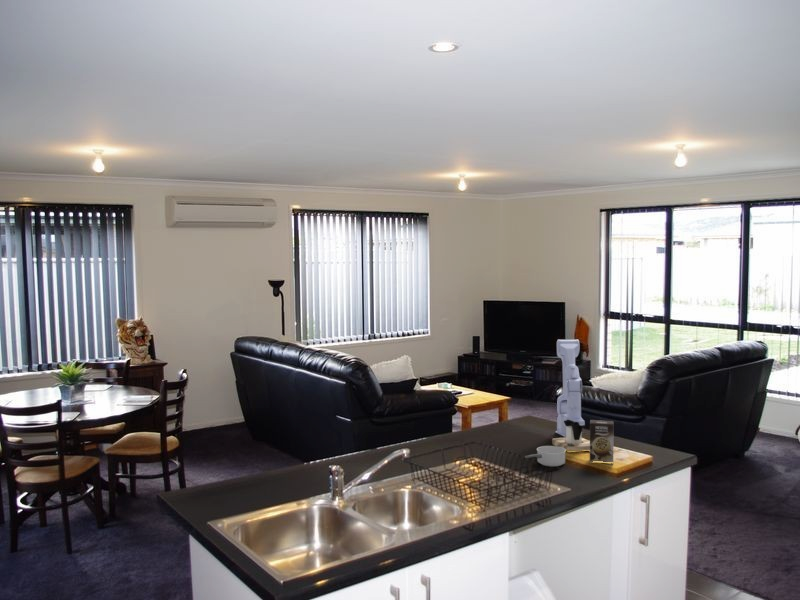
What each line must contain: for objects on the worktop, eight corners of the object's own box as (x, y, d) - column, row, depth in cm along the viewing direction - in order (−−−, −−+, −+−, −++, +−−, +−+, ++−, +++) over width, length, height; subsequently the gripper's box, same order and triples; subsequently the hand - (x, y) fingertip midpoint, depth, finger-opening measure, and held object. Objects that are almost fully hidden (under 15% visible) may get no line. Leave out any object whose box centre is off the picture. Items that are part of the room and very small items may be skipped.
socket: (552, 444, 294) (552, 437, 294) (579, 441, 297) (579, 434, 297) (569, 453, 280) (568, 446, 279) (597, 450, 283) (597, 443, 282)
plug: (566, 444, 290) (566, 426, 289) (581, 443, 291) (581, 424, 291) (571, 447, 286) (570, 428, 285) (585, 445, 287) (585, 427, 287)
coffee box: (589, 463, 265) (589, 422, 264) (589, 458, 271) (589, 419, 271) (613, 464, 263) (613, 424, 262) (613, 460, 269) (613, 420, 268)
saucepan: (515, 467, 263) (514, 452, 263) (550, 457, 274) (550, 444, 274) (536, 474, 254) (536, 459, 253) (572, 464, 265) (572, 450, 265)
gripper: (557, 404, 293) (557, 435, 294) (573, 411, 279) (574, 443, 280) (572, 403, 295) (572, 433, 296) (589, 409, 281) (589, 442, 282)
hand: (574, 438), depth 288 cm, fingers closed on plug, 4 cm apart
